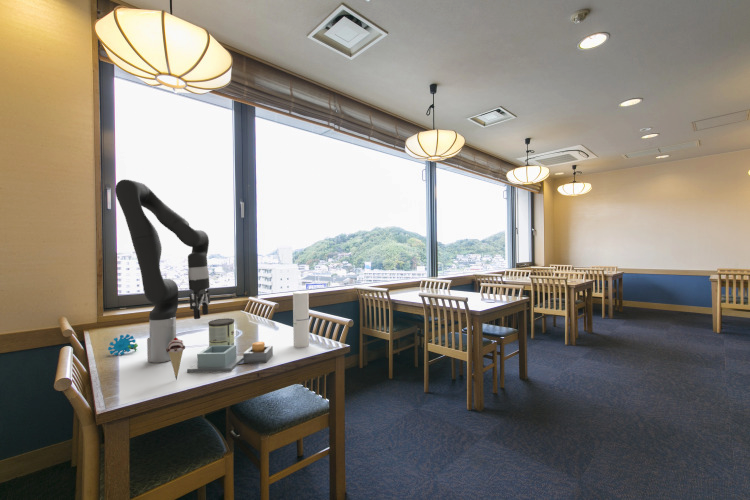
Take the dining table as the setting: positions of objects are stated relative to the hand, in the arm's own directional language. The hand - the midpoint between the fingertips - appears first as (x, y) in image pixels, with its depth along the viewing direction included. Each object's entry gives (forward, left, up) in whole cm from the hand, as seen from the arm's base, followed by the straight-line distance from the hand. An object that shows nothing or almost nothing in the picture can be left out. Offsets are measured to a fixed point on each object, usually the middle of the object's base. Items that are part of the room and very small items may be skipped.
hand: (201, 316), depth 134 cm
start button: (+24, -2, -14) cm, 28 cm away
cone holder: (+10, -8, -18) cm, 22 cm away
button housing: (+24, -2, -18) cm, 30 cm away
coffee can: (+5, +7, -18) cm, 20 cm away
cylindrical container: (+38, +16, -18) cm, 45 cm away
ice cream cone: (+2, -22, -18) cm, 28 cm away
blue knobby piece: (-39, +9, -18) cm, 44 cm away
